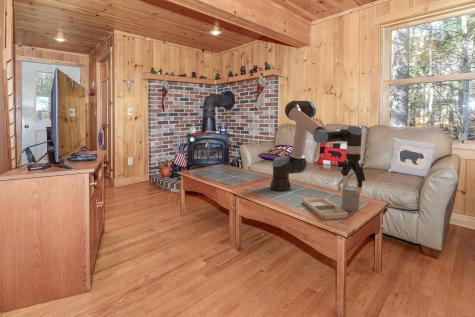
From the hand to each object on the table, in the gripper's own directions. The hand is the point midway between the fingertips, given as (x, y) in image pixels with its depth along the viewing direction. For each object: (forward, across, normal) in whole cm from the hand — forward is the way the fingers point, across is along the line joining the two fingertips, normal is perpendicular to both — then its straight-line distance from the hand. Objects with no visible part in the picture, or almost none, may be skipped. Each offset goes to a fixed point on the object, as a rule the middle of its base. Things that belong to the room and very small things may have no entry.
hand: (351, 189), depth 155 cm
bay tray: (+12, +2, +16) cm, 20 cm away
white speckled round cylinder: (+12, 0, 0) cm, 12 cm away
